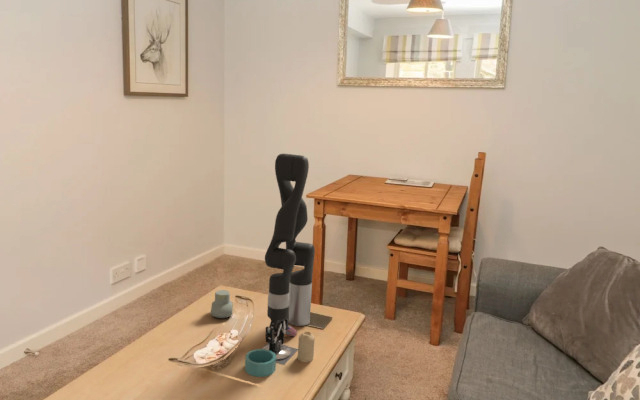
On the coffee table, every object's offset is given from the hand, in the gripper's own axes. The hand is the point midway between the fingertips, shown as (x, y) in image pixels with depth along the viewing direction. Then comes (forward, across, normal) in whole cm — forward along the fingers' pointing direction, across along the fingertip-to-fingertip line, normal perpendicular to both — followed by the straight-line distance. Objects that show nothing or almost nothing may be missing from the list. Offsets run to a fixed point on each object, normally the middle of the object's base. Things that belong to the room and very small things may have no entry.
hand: (276, 347), depth 184 cm
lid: (+2, 0, 0) cm, 2 cm away
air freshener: (+3, -18, -34) cm, 39 cm away
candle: (+3, -1, +11) cm, 11 cm away
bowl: (+3, +12, 0) cm, 12 cm away
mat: (+3, 0, 0) cm, 3 cm away
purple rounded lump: (+3, -14, -4) cm, 15 cm away
